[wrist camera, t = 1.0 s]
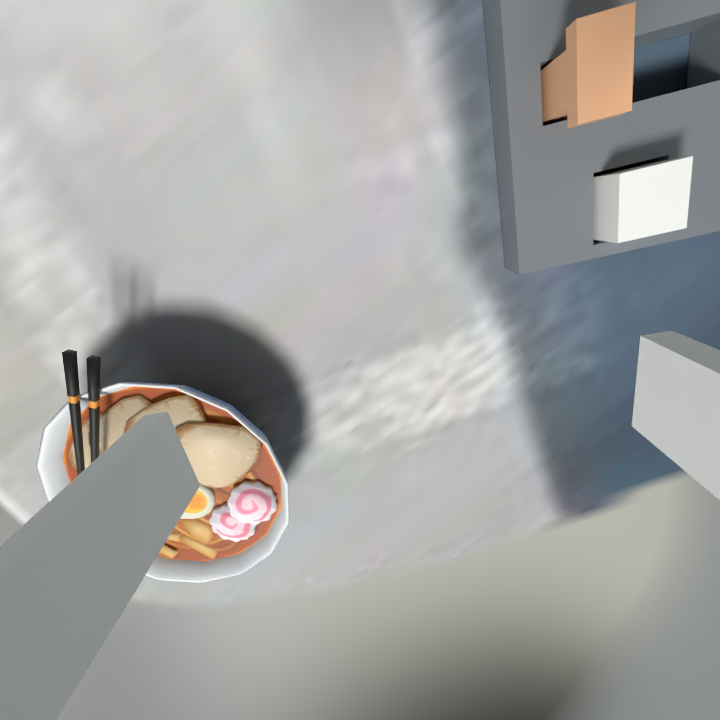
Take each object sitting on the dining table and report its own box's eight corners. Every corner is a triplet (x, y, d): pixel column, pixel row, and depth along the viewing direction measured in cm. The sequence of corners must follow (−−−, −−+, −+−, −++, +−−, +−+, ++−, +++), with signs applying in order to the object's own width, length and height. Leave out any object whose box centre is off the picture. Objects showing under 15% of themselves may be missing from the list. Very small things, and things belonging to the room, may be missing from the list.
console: (474, -89, 24) (490, -135, 21) (746, -178, 22) (811, -245, 19) (504, 267, 32) (519, 274, 29) (703, 223, 30) (743, 225, 27)
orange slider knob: (529, 62, 26) (576, 18, 20) (573, 49, 26) (635, 1, 20) (533, 142, 28) (577, 124, 22) (574, 131, 27) (631, 110, 21)
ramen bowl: (282, 550, 46) (264, 617, 38) (94, 508, 44) (36, 570, 37) (328, 372, 37) (317, 415, 29) (92, 311, 35) (14, 340, 27)
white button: (586, 178, 28) (619, 173, 24) (649, 163, 27) (692, 156, 23) (586, 238, 29) (617, 243, 26) (646, 225, 29) (686, 228, 25)
